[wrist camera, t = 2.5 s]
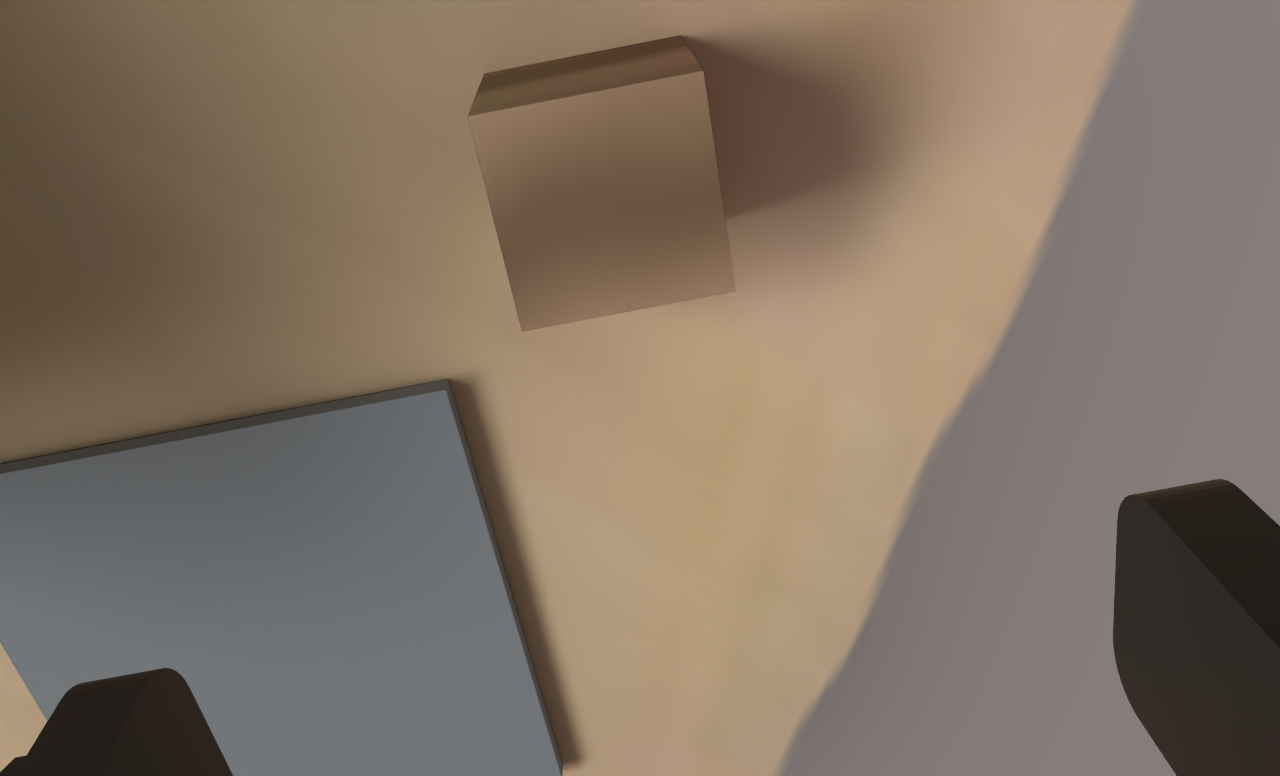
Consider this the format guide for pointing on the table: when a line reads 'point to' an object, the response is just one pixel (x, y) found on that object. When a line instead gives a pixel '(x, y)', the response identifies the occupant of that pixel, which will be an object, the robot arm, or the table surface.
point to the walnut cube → (603, 182)
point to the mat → (285, 588)
